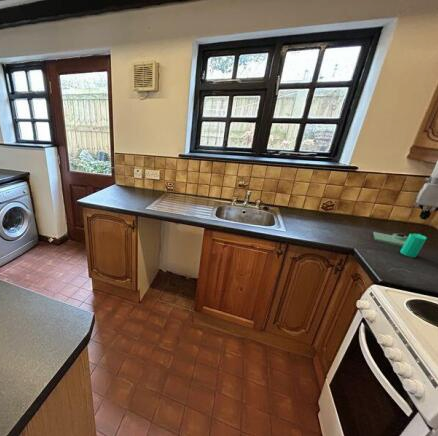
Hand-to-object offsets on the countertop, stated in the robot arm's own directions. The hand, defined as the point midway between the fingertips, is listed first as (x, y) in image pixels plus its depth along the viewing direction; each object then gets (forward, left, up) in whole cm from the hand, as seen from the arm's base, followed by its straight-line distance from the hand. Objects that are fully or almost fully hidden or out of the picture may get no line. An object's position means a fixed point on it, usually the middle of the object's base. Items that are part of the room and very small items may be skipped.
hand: (423, 218), depth 118 cm
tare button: (+1, -18, -16) cm, 24 cm away
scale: (+5, -15, -19) cm, 24 cm away
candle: (0, +1, -19) cm, 19 cm away
